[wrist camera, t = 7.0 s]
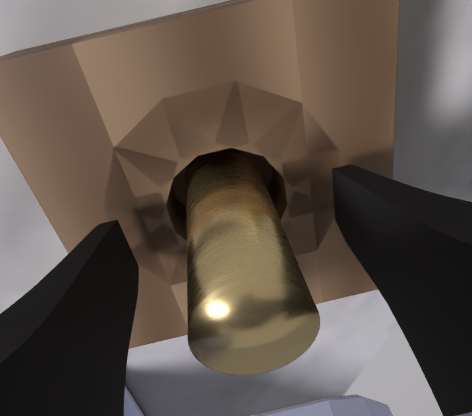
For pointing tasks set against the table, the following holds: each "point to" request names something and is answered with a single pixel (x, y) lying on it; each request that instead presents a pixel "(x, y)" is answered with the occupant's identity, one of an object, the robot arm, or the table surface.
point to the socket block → (206, 130)
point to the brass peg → (241, 271)
